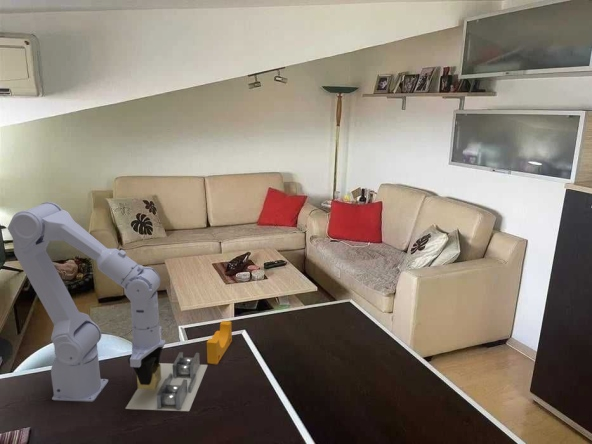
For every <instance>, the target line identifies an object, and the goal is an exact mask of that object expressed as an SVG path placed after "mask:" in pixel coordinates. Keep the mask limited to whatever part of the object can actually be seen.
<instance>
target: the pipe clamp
mask: <svg viewBox="0 0 592 444" xmlns="http://www.w3.org/2000/svg"><path fill="white" fill-rule="evenodd" d="M232 329H233V327H232V321H231V320H230V321H229V320H222V321H221V322H220V324H219V330H216V331H215V332H214V334H213V336H212V337H211V338H209V339H207V341H206V355H207V356H206V361H207V364H212V365H218V364H219V362H220V360H221V359H222V357H223V356H224V354H225V352H226V351H227V350H228V349H229V346H230V345H231V343H232V342H233V337H232V336H233V335H232V333H233V332H232Z"/></svg>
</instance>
